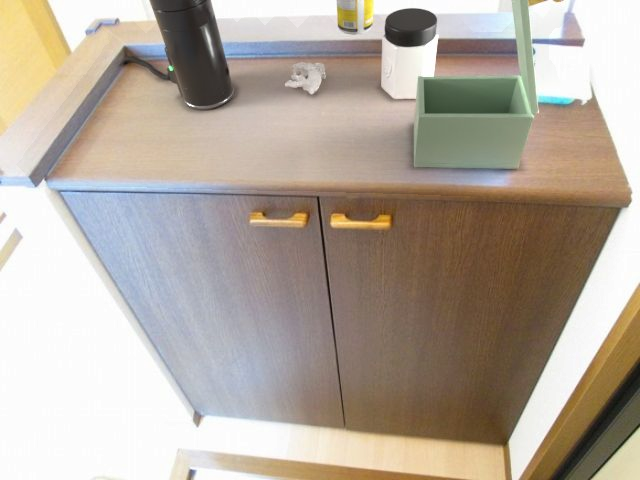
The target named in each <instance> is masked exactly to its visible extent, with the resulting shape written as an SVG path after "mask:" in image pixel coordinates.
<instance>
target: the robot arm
mask: <svg viewBox="0 0 640 480" xmlns="http://www.w3.org/2000/svg"><path fill="white" fill-rule="evenodd" d="M148 1H149V4H150V6H151V9H152V12H153V15H154V17H155V18H154V19H155V20H156V23H157V26H158V29H159V32H160V35H161V37H162V40H163V43H164V46H165V47H164V53H165V55H166V58H167V61H168V64H169V66H168V67H166V71H167V73H166V74H165V73H163V72H161V71H159V70H158V69H156V68H155V67H154V66H153V65H152V64H151V63H149V62H147V61H146V60H143V59H141V58H138V57H135V56H130V55H129V56H127V55H126V56H125V58H124V57H123V58H124V60H123V58H122V60H121V63H120V64H121V65H126V64H127V63H129V62H131V63H136V64H138V65H140V66H142V67H145V68H147V69H148V70H149V71H150V72H151V73H152V74H153V75H155V76H157V77H158V78H160V79H161V80H165V81H170V82H171V83H172V84H175V85H176V86H177V89H178V92H179V94H180V97H181V98H182V99H183V102H184V104H185V105H186V106H187V107H189V108H190V109H193V110H197V111H198V110H201V111H203V110H211V109H216V108H219V107H221V106H223V105H225V104H227V103H228V102H229V101H231V100H232V98H233V97H234V95H235V87H234V84H233V81H232V77H231V71H230V65H229V63H228V62H229V61H228V60H227V57H226V53H225V50H224V45H223V42H222V37H221V33H220V30H219V26H218V21H217V18H216V14H215V10H214V7H213V2H212V0H148Z"/></svg>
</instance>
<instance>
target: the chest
mask: <svg viewBox="0 0 640 480" xmlns="http://www.w3.org/2000/svg"><path fill="white" fill-rule="evenodd" d="M534 119H535V114H533V115H532V114H531V110H530V107H529V103H528V100H527V96H526V92H525V89H524V85H523V82H522V78H521V75H520V74H518V75H515V74H513V75H505V74H504V75H434V76H418V82H417V94H416V99H415V107H414V117H413V167H414V168H439V169H441V168H443V169H445V168H446V169H497V170H498V169H502V170H503V169H504V170H518V169H519V166H520V163H521V160H522V157H523V153H524V150H525V148H526V145H527V140H528V138H529V134H530V131H531V129H532V125H533V122H534Z"/></svg>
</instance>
